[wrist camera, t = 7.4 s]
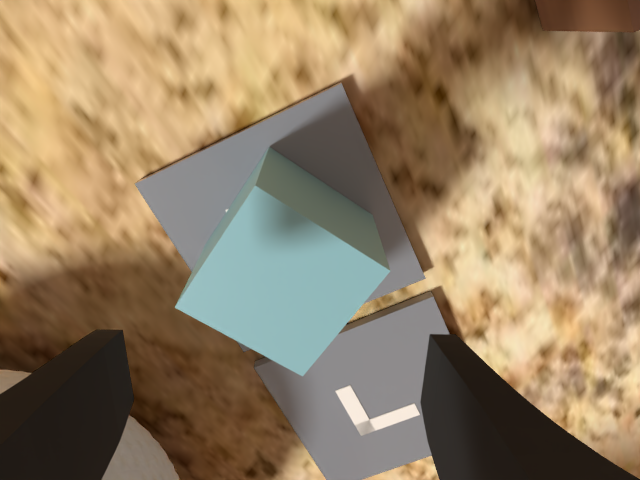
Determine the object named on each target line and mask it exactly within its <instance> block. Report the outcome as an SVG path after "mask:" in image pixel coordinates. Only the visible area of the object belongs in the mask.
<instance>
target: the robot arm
mask: <svg viewBox="0 0 640 480" xmlns="http://www.w3.org/2000/svg"><path fill="white" fill-rule="evenodd" d="M133 401H134V396H133V390H132V384H131V378H130V372H129V366H128V360H127V354H126V348H125V342H124V335H123V330H95V331H94V332H92V333H90V334H89V335H87V336H85V337H84V338H82V339H81V340H79V341H78V342H77V343H75V344H74V345H72V346H71V347H69V348H68V349H66V350H65V351H63V352H62V353H61V354H59V355H58V356H56V357H55V358H53V359H52V360H51V361H49V362H48V363H46V364H45V365H43V366H42V367H40V368H39V369H37V370H36V371H34V372H33V373H32V374H30V375H29V376H27V377H26V378H24V379H23V380H21V381H20V382H18V383H17V384H15V385H14V386H12V387H10V388H9V389H7V390H6V391H4V392H3V393H1V394H0V480H102V478H103V476H104V474H105V472H106V470H107V468H108V465H109V463H110V461H111V459H112V457H113V455H114V453H115V451H116V449H117V446H118V444H119V442H120V440H121V437H122V434H123V431H124V429H125V426H126V423H127V420H128V417H129V413H130V410H131V407H132V404H133ZM420 403H421V409H422V414H423V420H424V425H425V430H426V435H427V440H428V444H429V448H430V451H431V454H432V457H433V460H434V464H435V467H436V470H437V473H438V476H439V479H440V480H640V479H638V478H637V477H635V476H633V475H632V474H630V473H628V472H627V471H625V470H623V469H622V468H620V467H618V466H617V465H615V464H614V463H612V462H610V461H609V460H607V459H606V458H604V457H603V456H601V455H600V454H598V453H597V452H595V451H594V450H592V449H591V448H589V447H588V446H587V445H585V444H584V443H582V442H581V441H579V440H578V439H577V438H575V437H574V436H572V435H571V434H569V433H568V432H567V431H565V430H564V429H563V428H561V427H560V426H559V425H557V424H556V423H555V422H553V421H552V420H551V419H550V418H548V417H547V416H546V415H545V414H543V413H542V412H541V411H540V410H538V409H537V408H536V407H535V406H533V405H532V404H531V403H530V402H529V401H527V400H526V399H525V398H524V397H523V396H521V395H520V394H519V393H518V392H517V391H516V390H515V389H513V388H512V387H511V386H510V385H509V384H508V383H507V382H506V381H504V380H503V379H502V378H501V377H500V376H499V375H498V374H497V373H496V372H495V371H494V370H493V369H491V368H490V367H489V366H488V365H487V364H486V363H485V362H484V361H483V360H482V359H481V358H480V357H479V356H478V355H477V354H476V353H475V352H474V351H473V350H471V349H470V348H469V347H468V346H467V345H466V344H465V343H464V342H463V341H462V340H461V339H460V338H459V337H458V336H457V335H455V334H430V335H429V343H428V350H427V357H426V364H425V372H424V379H423V386H422V394H421V401H420Z"/></svg>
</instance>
